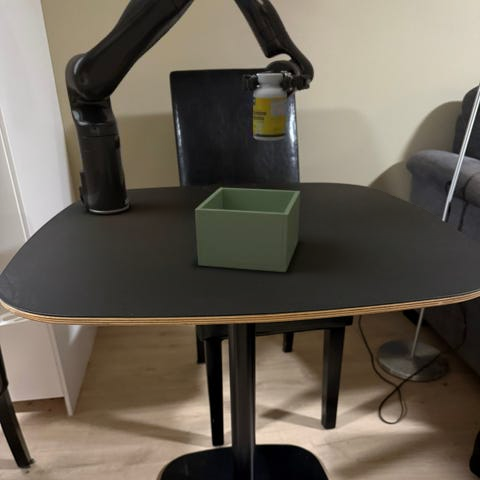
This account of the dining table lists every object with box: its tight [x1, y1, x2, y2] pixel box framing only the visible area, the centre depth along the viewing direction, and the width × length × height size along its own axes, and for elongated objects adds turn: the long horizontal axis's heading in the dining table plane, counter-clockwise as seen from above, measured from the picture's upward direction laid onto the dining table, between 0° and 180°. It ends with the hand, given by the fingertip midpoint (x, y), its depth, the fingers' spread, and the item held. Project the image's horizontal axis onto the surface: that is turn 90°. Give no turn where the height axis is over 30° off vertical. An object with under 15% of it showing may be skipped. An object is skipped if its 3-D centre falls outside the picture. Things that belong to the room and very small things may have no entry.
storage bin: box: [194, 187, 301, 273], centre depth 87 cm, size 16×16×10 cm
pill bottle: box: [252, 74, 288, 142], centre depth 93 cm, size 6×6×12 cm
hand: (267, 84), depth 89 cm, fingers closed on pill bottle, 5 cm apart
